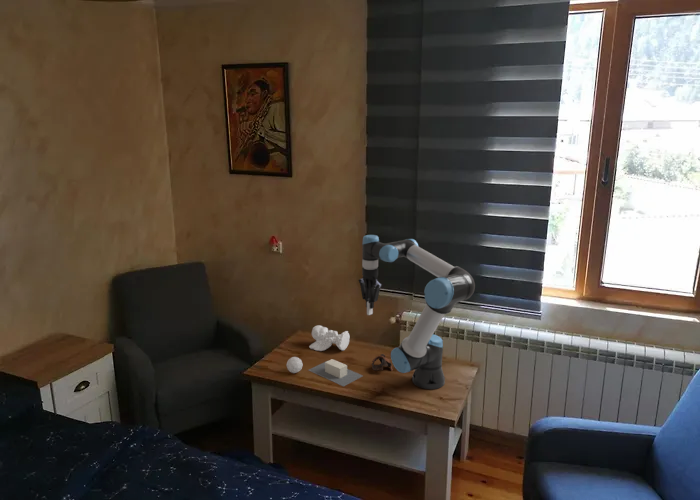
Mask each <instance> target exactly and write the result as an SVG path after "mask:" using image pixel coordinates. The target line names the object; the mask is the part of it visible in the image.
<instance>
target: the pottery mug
mask: <svg viewBox="0 0 700 500" xmlns="http://www.w3.org/2000/svg"><path fill="white" fill-rule="evenodd" d="M378 360H379V362H380V364H378V365H376V364H375V362H377V361H378ZM371 362H372V363H371V369H372V370H373V371H384V367H387V368H390V371H391V372H393V366H392V365H393V364H392V363H391V362H392V361H391V360H390V359H389V358H387V357H386V354H385V353H381V354H380V355H378V356H375V358H373V359H372V361H371Z"/></svg>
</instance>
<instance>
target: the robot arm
mask: <svg viewBox="0 0 700 500" xmlns="http://www.w3.org/2000/svg"><path fill="white" fill-rule="evenodd" d="M379 238H380V237H379V236H378V235H376V234H367V235H364V236H363V238H362V245H361V246H362V260H361V261H362V263H361V264H362V268H361V269H362V278H359V279H358V283H359V285H360V286H359V287H360V292H361V297H362V300H364V301H365V307H366V315H367V316H371V315H373V313H374V310H373V309H374V307H375V303H376V302H377V301H379V300H378V299H379V294H380V292H381V291H380V290H381V288H382V286H383V284H382V283H380V282H379V279H378V276H379V268H378V267H379V260H381V261H383V262H386V263H387V262H388V263H393V262H395V261H396V260H397V259H398V258H403V257H404V258H406V259H407V260H409V261H410V262H412V263H414V264H415V265H417V266H419V267H420V268H422V269H423V270H425V271H427V272H428V273H430V274H432V275H433V276H435V277H436V278H434V279H431V280H429V282H428V283H427V284H426V286H424V291H423V292H424V297H423V298H424V302H425V306H424V308H423V309H422V311H421V313H420V315H419V317H418V318H417V321H416V322H415V325H414V326H413V328H412V330H411V331H410V334H409V335H408V336H406V337H404V338H403V339H402V341H401V343H400V345H399V346H398V347H397V346H396V347H394V348H393V349H392V350H391V351H390V359H391V360H390V361H391V362H392V363H391V364H392V365H393V367H394V369H396V371H397V372H399V373H401V374H405V373H410V372H412V371H413V374H412V383H413V384H414V386H417V387H418V388H420V389H426V390H437V389H440V388H442V387H444V385H445V383H446V377H445V375H444V370H443V367H442V366H443V352H444V350H443V349H444V345H443V342H444V340H443V339H442V337H441V336H438V335H437V334H434V333H435V332H436V330H437V329H438V327H439V325H440V322H441V321H442V320H443V318H444V316H445V315H448V314H450V313H451V311H452V309H454V307H455V305H456V304H457V303H461V302H464V301H466V300H468V299H470V298H471V297H472V295H473V294H474V292H475V290H476V289H475V288H476V283H475V279H474V278H473V276H472V275H471V274H470V273H469V272H468V271H467V270H465V269H464V268H462V267H461V266H457V265H456V266H453V265H452V264H450V263H449V262H446V261H445V260H443V259H441V258H439V257H437V256H436V255H434V254H433V253H430V252H429V251H427V250H425V249H423V248H422V247H420V246H419V243H418V242H417V240H415V239H414V238H406V239H403V240H398V241H393V242H387V243H383V242H381V241H380V239H379Z"/></svg>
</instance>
